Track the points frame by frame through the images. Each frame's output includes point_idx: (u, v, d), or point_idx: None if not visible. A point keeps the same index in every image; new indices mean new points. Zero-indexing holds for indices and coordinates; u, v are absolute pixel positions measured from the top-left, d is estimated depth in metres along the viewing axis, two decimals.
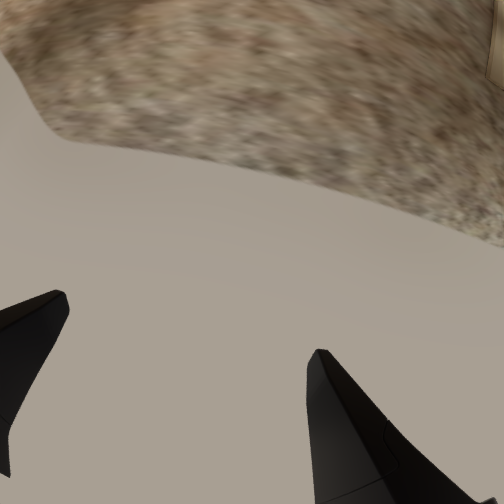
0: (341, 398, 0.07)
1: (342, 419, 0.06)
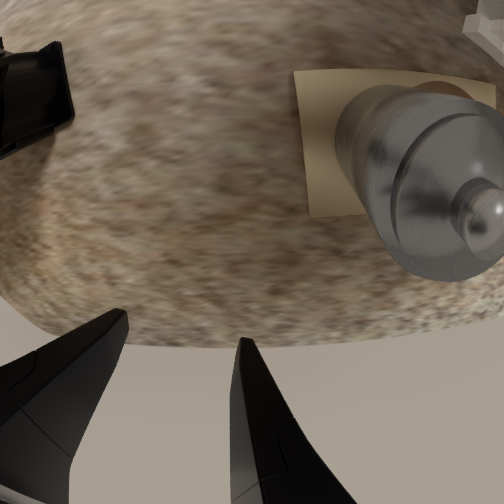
0: (244, 388, 0.07)
1: (242, 411, 0.06)
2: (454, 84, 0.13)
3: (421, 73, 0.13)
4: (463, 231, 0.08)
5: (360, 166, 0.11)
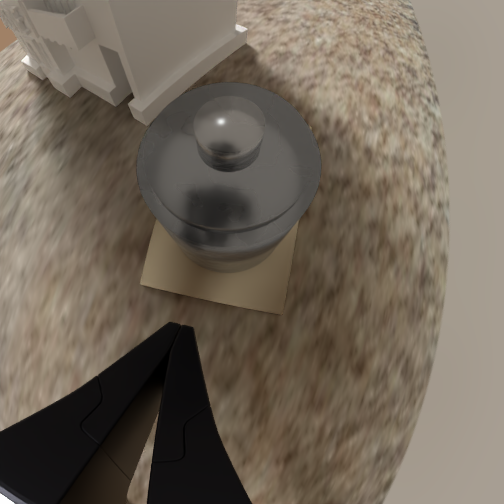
0: (167, 372, 0.07)
1: None
2: None
3: None
4: (230, 159, 0.10)
5: (198, 253, 0.13)
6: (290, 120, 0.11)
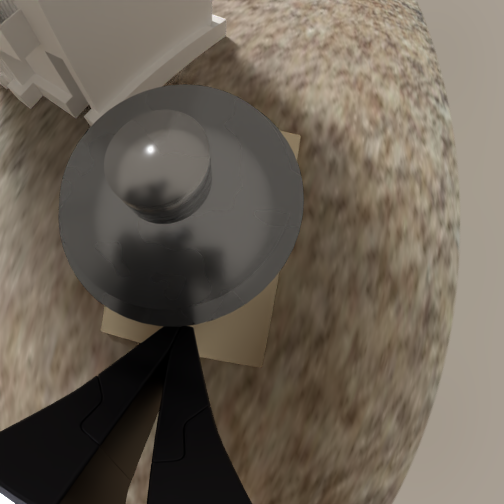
0: (167, 372, 0.07)
1: None
2: None
3: None
4: (158, 212, 0.06)
5: None
6: (258, 137, 0.08)
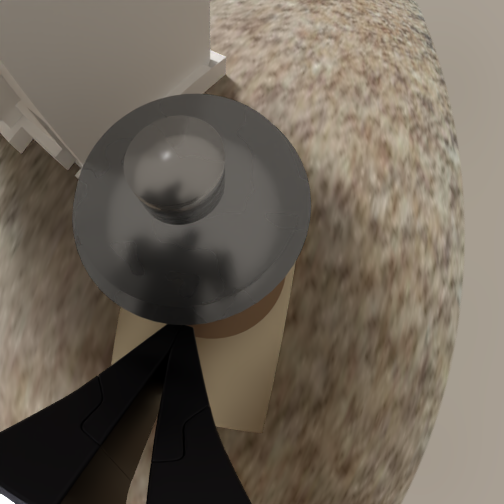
0: (167, 372, 0.07)
1: None
2: None
3: None
4: (175, 212, 0.07)
5: None
6: (268, 144, 0.08)
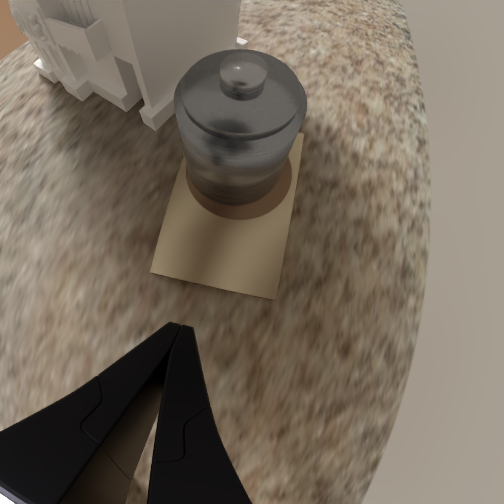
0: (167, 372, 0.07)
1: None
2: None
3: (178, 174, 0.23)
4: (244, 88, 0.13)
5: (215, 167, 0.17)
6: (284, 73, 0.15)
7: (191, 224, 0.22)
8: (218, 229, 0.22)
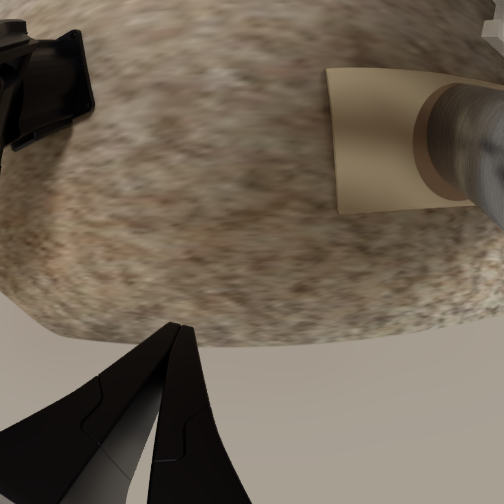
0: (167, 372, 0.07)
1: None
2: None
3: (445, 75, 0.13)
4: None
5: (481, 153, 0.10)
6: None
7: (397, 103, 0.15)
8: (398, 135, 0.16)
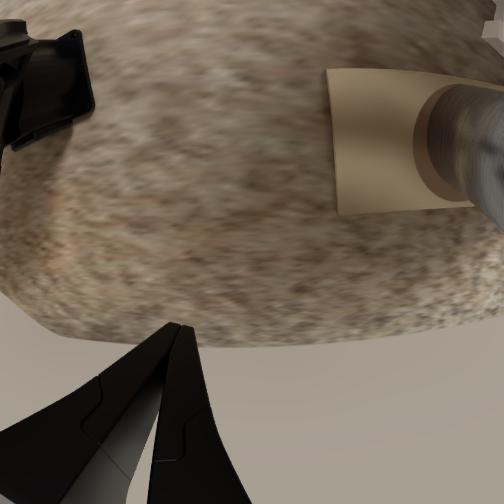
0: (167, 372, 0.07)
1: None
2: None
3: (446, 76, 0.13)
4: None
5: (481, 154, 0.10)
6: None
7: (397, 104, 0.15)
8: (398, 136, 0.16)
